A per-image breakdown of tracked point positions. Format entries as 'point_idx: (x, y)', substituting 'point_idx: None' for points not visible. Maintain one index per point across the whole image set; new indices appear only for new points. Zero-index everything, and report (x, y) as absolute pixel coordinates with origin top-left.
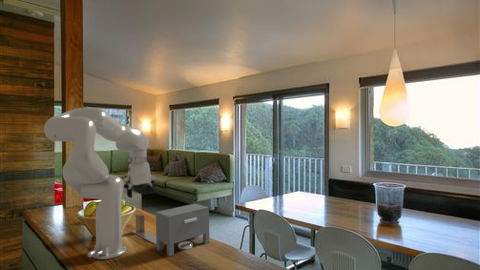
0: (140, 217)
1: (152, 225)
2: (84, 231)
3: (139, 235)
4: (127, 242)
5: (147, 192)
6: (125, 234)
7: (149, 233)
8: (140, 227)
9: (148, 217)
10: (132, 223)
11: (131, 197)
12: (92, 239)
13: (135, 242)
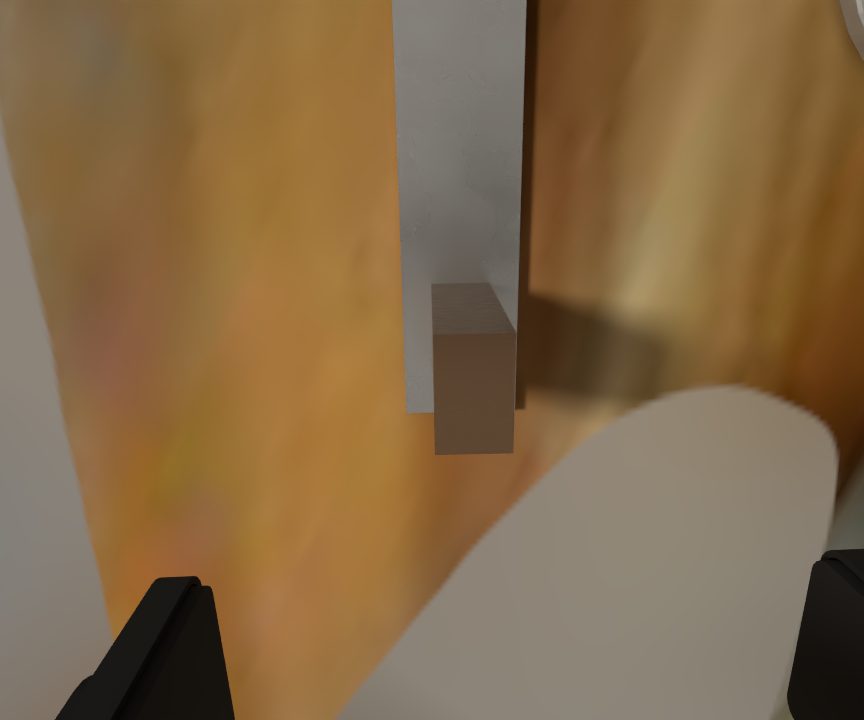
0: (495, 328)
1: (259, 452)
2: (785, 696)
3: (519, 224)
4: (704, 122)
5: (217, 715)
6: (591, 380)
7: (415, 189)
8: (484, 296)
9: None
10: (388, 635)
11: (839, 551)
12: (860, 461)
13: (649, 51)
